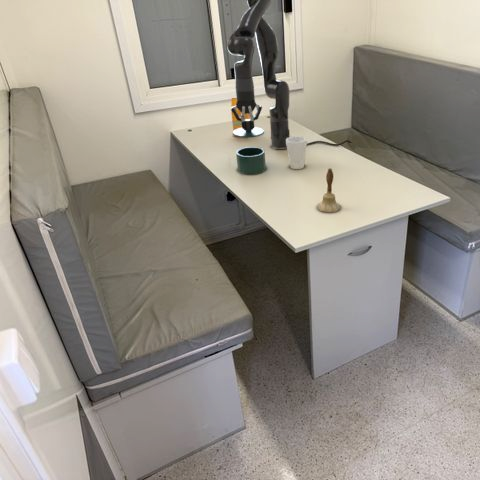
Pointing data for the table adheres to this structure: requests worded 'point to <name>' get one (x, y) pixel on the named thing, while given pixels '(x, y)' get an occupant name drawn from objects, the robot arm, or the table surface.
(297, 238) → the table surface
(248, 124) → the lid
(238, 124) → the orange juice
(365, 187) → the table surface
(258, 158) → the tin
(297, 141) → the foam cup
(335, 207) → the hand bell
